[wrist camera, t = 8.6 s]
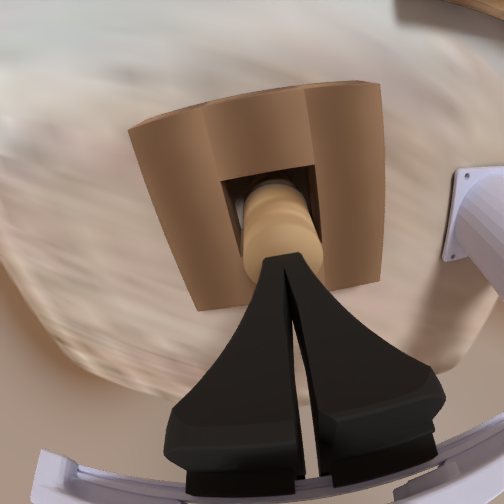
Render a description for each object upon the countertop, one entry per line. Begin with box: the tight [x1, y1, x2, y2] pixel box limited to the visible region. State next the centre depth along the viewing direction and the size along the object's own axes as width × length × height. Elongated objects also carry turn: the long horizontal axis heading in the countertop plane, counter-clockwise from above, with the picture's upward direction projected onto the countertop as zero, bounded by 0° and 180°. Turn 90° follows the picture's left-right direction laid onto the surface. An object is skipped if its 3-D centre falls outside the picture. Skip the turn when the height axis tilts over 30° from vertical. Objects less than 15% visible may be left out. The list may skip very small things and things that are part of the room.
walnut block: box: [128, 81, 385, 311], centre depth 16 cm, size 12×12×3 cm
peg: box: [243, 170, 323, 284], centre depth 15 cm, size 3×3×7 cm
